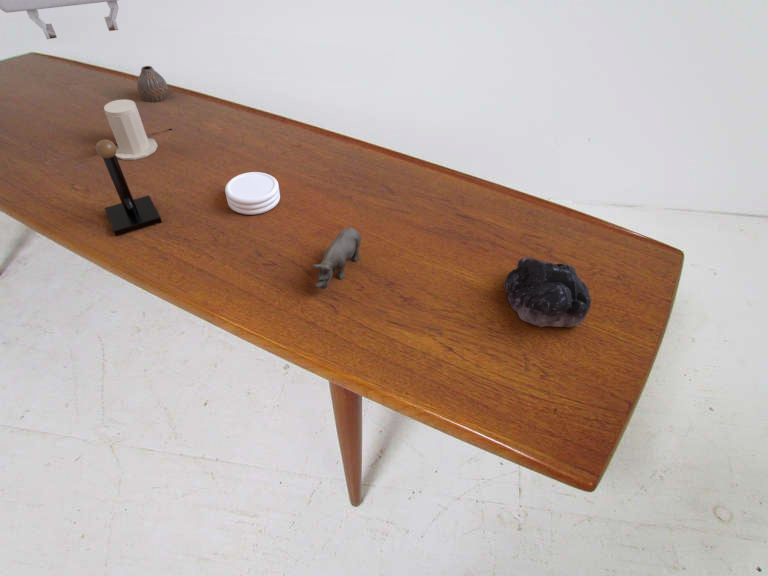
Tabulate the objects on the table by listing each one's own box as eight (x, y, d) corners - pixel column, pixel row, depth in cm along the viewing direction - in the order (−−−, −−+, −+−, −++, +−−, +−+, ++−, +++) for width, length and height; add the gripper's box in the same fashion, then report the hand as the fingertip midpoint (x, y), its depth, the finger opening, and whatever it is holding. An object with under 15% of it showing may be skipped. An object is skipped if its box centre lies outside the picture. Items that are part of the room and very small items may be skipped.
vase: (163, 94, 128) (153, 59, 122) (177, 103, 124) (167, 68, 118) (138, 102, 124) (126, 67, 118) (151, 112, 121) (139, 76, 115)
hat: (118, 164, 104) (100, 119, 97) (109, 145, 110) (91, 102, 103) (161, 153, 108) (147, 109, 101) (151, 135, 113) (137, 92, 106)
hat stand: (116, 236, 88) (80, 158, 77) (106, 212, 92) (71, 136, 81) (162, 222, 91) (134, 145, 80) (150, 200, 96) (123, 124, 85)
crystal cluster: (527, 265, 86) (535, 219, 79) (605, 297, 80) (620, 250, 73) (487, 312, 80) (491, 267, 73) (567, 351, 73) (580, 306, 66)
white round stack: (268, 219, 92) (266, 204, 90) (219, 211, 94) (214, 195, 91) (287, 190, 99) (286, 174, 97) (241, 182, 101) (238, 167, 98)
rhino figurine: (304, 294, 79) (300, 267, 75) (345, 245, 88) (344, 217, 84) (326, 303, 78) (324, 275, 73) (366, 252, 87) (366, 224, 82)
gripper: (-38, -56, 68) (13, 49, 78) (122, -66, 75) (149, 31, 85) (-38, -67, 71) (10, 35, 81) (115, -75, 79) (142, 19, 89)
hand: (83, 33), depth 83 cm, fingers open, 8 cm apart
